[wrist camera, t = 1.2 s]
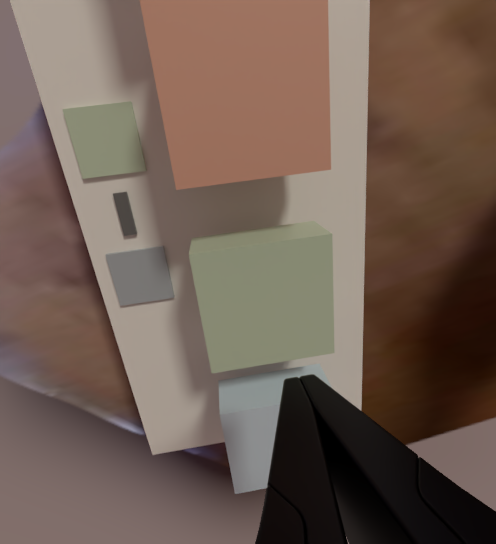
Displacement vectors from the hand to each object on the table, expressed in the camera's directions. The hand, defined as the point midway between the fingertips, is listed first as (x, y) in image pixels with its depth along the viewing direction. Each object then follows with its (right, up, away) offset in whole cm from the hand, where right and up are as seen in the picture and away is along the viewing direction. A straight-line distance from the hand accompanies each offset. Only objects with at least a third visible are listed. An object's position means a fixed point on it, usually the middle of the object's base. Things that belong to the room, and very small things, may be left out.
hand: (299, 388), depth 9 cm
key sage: (-1, +3, +7) cm, 7 cm away
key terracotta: (-2, +10, +4) cm, 11 cm away
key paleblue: (0, -5, +10) cm, 11 cm away
